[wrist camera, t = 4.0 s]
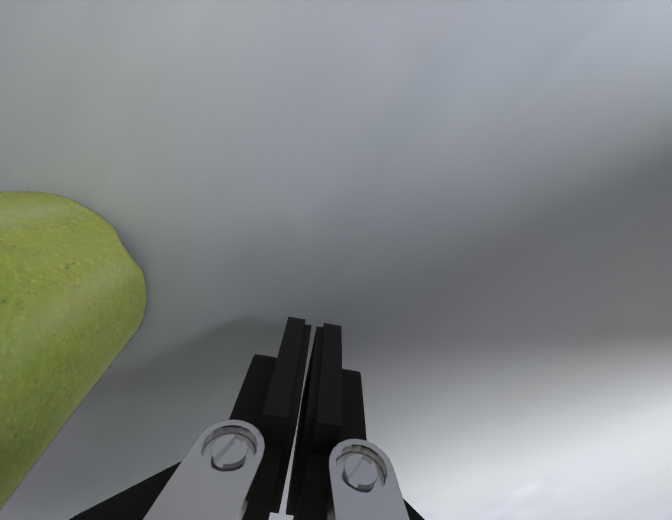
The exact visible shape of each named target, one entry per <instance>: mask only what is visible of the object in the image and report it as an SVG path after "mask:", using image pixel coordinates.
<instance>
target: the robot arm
mask: <svg viewBox="0 0 672 520" xmlns="http://www.w3.org/2000/svg"><path fill="white" fill-rule="evenodd" d="M310 333H311V325H306V324H305V319H299V318H293V317H289V318H288V321H287V325H286V328H285V332H284V335H283V339H282V343H281V346H280V350H279V353H278V357H277V358H275V357H269V356H263V355H258V354H255V355H254V357H253V359H252V362H251V364H250V367H249V369H248V372H247V375H246V377H245V380H244V382H243V385H242V387H241V390H240V393H239V395H238V398H237V400H236V403H235V405H234V408H233V411H232V413H231V416H230V418H229V420H224V421H221V422H218V423H215V424H213V425H211V426H210V427H208V428H207V429H205V430H204V431H203V432H202V433H201V435H200V436H199V437H198V438H197V440H196V441H195V443H194V444H193V446H192V447H191V449H190V450H189V452H188V453H187V454H186V456H185V457H184V459H183V460H182V461H181V462H179V463H177V464H175V465H173V466H171V467H169V468H167V469H166V470H164V471H162V472H160V473H158V474H156V475H154V476H152V477H150V478H148V479H146V480H144V481H142V482H140V483H138V484H136V485H134V486H132V487H131V488H129V489H127V490H125V491H123V492H121V493H119V494H117V495H115V496H113V497H111V498H109V499H107V500H105V501H103V502H101V503H99V504H97V505H95V506H94V507H92V508H90V509H88V510H86V511H84V512H82V513H80V514H78V515H76V516H74V517H73V518H71V519H70V520H268V519H269V514H270V512H273V513H279V509H280V504H281V499H282V494H283V489H284V484H285V480H286V475H287V470H288V465H289V460H290V455H291V450H292V445H293V440H294V435H295V430H296V425H297V420H298V414H299V408H300V401H301V394H302V387H303V380H304V373H305V367H306V360H307V353H308V346H309V339H310ZM286 515H293V516H294V517H293V520H424V519H423V518H422V517H421V516H420V515H419V514H418V513H417V512H416V511H415V510H414V509H413V508H412V507H411V506H410V505H409V504H408V503H407V502H406V501H405V500H404V499H403V497H402V494H401V491H400V488H399V484H398V481H397V478H396V475H395V472H394V469H393V466H392V464H391V462H390V460H389V458H388V457H387V455H386V454H385V453H384V452H383V451H382V450H381V449H380V448H378V447H377V446H376V445H374V444H372V443H370V442H368V441H367V440H366V428H365V417H364V406H363V394H362V383H361V374H360V372H357V371H352V370H346V369H342V339H341V326H338V325H333V324H327V323H324V326H323V327H318V326H317V328H316V332H315V337H314V342H313V347H312V352H311V357H310V362H309V367H308V372H307V377H306V382H305V387H304V391H303V397H302V402H301V409H300V416H299V423H298V430H297V437H296V444H295V451H294V458H293V465H292V472H291V479H290V486H289V493H288V500H287V507H286Z"/></svg>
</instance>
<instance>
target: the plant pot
mask: <svg viewBox="0 0 672 520" xmlns="http://www.w3.org/2000/svg"><path fill="white" fill-rule="evenodd" d="M146 301H147V293H146V284H145V280H144V275H143V272H142V270H141V268H140V267H139V265H138V264H136V263H135V261H134V260H133V259H132V258H131V256H130V255H129V253H128V252H127V251H126V249H125V248H124V247H123V245H122V243H121V241H120V239H119V237H118V235H117V233H116V231H115V229H114V228H113V227H112V226H111V225H110V224H109V223H108V222H107V221H105V220H104V219H103V218H102V217H100V216H99V215H98V214H97V213H95V212H93V211H92V210H90V209H88V208H87V207H85V206H83V205H81V204H79V203H77V202H75V201H73V200H71V199H67V198H64V197H61V196H58V195H54V194H48V193H42V192H30V191H25V192H0V510H1V509H2V507H3V506H4V505H5V503H6V502H7V501H8V499H9V498H10V497H11V495H12V494H13V493H14V491H15V490H16V489H17V487H18V486H19V485H20V483H21V482H22V481H23V479H24V478H25V477H26V475H27V474H28V473H29V471H30V470H31V469H32V467H33V466H34V465H35V463H36V462H37V461H38V459H39V458H40V456H41V455H42V454H43V452H44V451H45V450H46V448H47V447H48V446H49V444H50V443H51V442H52V440H53V439H54V438H55V436H56V435H57V434H58V432H59V431H60V430H61V428H62V427H63V426H64V424H65V423H66V422H67V421H68V419H69V418H70V417H71V415H72V414H73V413H74V412H75V410H76V409H77V408H78V406H79V405H80V404H81V403H82V401H83V400H84V399H85V397H86V396H87V395H88V393H89V392H90V391H91V390H92V388H93V387H94V386H95V384H96V383H97V382H98V381H99V379H100V378H101V377H102V375H103V374H104V373H105V372H106V370H107V369H108V368H109V367H110V365H111V364H112V363H113V361H114V360H115V359H116V358H117V356H118V355H119V354H120V352H121V351H122V350H123V348H124V347H125V346H126V345H127V343H128V342H129V341H130V340H131V338H132V337H133V336H134V334H135V333H136V331H137V330H138V328H139V326H140V324H141V322H142V320H143V317H144V314H145V310H146Z"/></svg>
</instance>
